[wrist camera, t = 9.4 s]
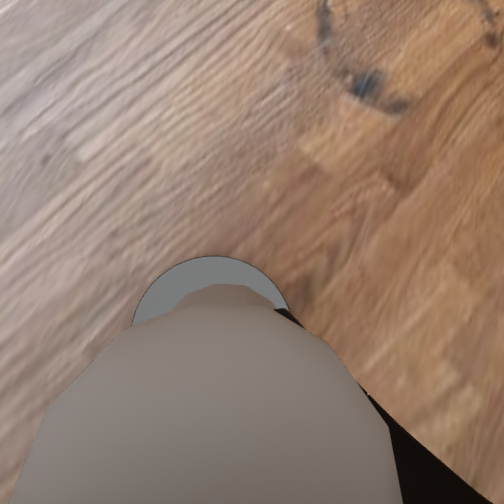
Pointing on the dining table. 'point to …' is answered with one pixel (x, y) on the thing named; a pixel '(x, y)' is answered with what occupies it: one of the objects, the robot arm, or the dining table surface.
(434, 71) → the dining table surface
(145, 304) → the coaster
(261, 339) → the salt shaker
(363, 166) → the dining table surface
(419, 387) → the dining table surface
